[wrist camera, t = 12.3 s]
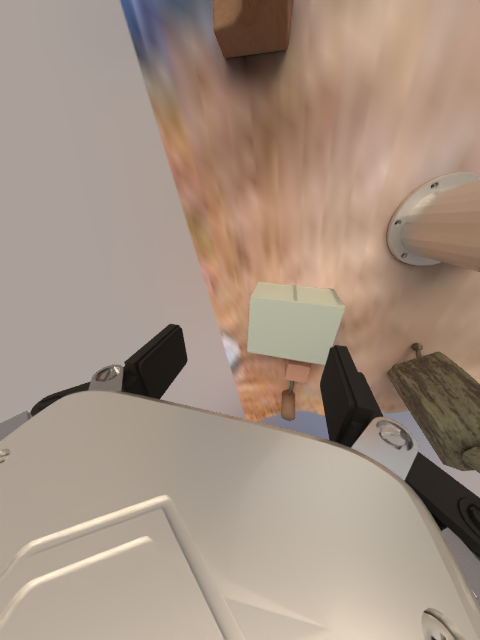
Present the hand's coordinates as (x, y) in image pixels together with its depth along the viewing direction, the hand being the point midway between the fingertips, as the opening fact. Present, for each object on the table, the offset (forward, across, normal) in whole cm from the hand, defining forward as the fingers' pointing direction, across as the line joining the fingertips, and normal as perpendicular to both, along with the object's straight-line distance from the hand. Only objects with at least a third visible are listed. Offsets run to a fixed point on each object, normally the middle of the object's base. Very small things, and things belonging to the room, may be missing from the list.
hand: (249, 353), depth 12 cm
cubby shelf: (+30, -4, +10) cm, 32 cm away
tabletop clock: (+30, -31, +21) cm, 48 cm away
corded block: (+30, -7, +30) cm, 43 cm away
